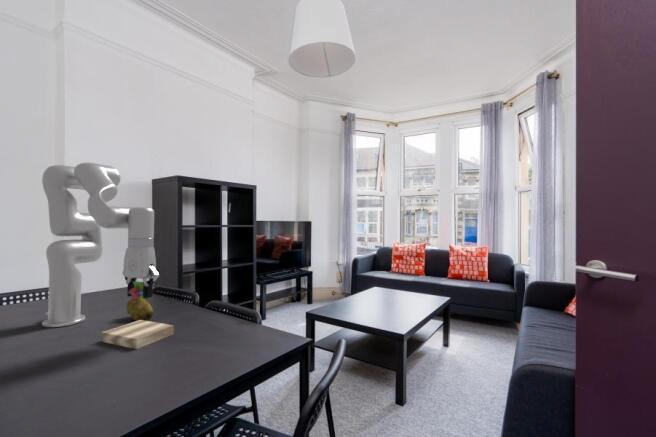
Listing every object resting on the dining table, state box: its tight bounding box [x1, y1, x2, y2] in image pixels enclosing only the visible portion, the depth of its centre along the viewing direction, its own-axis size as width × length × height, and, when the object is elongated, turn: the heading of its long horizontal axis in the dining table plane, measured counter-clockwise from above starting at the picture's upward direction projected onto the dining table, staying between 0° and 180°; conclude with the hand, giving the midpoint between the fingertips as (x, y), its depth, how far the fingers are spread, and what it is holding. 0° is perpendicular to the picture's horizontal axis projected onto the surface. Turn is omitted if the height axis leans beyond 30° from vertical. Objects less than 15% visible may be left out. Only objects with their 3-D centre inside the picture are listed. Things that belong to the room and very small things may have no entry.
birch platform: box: [100, 320, 175, 350], centre depth 105 cm, size 16×14×3 cm
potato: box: [125, 298, 155, 321], centre depth 125 cm, size 8×13×8 cm, turn 41°
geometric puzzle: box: [128, 279, 149, 301], centre depth 105 cm, size 7×7×8 cm
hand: (139, 296), depth 105 cm, fingers closed on geometric puzzle, 6 cm apart
